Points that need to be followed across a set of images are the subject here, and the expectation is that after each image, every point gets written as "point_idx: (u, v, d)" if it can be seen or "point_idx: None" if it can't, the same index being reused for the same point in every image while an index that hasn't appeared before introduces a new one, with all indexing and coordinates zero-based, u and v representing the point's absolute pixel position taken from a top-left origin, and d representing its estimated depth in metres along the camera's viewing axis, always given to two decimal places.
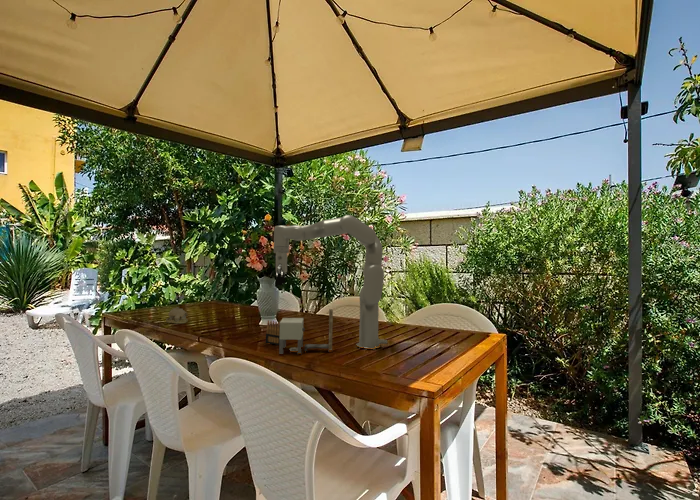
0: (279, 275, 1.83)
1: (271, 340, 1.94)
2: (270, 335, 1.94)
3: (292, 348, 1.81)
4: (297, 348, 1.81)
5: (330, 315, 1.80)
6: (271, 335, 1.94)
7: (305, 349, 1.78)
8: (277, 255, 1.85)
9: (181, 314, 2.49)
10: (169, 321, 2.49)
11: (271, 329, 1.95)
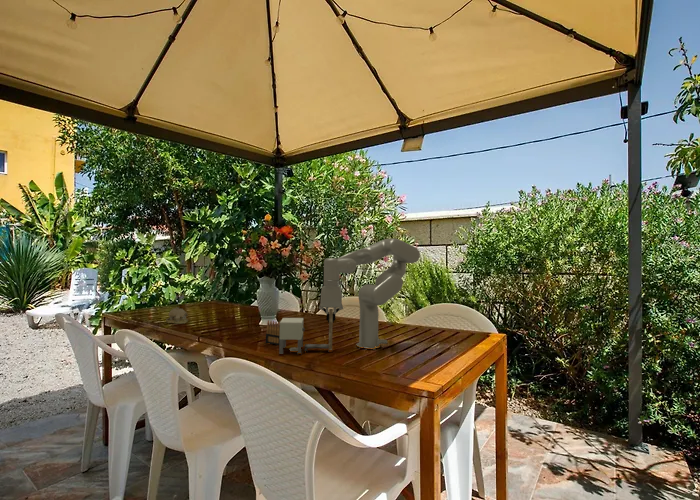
0: (336, 312, 1.82)
1: (271, 340, 1.94)
2: (270, 335, 1.94)
3: (292, 348, 1.81)
4: (297, 348, 1.81)
5: (330, 315, 1.80)
6: (271, 335, 1.94)
7: (305, 349, 1.78)
8: (340, 289, 1.81)
9: (181, 314, 2.49)
10: (169, 321, 2.48)
11: (271, 329, 1.95)
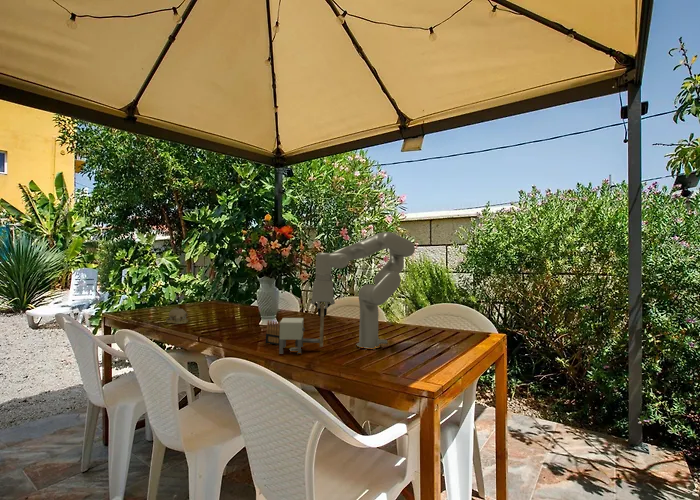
0: (328, 306, 1.82)
1: (271, 340, 1.94)
2: (270, 335, 1.94)
3: (292, 348, 1.81)
4: (297, 348, 1.81)
5: (321, 309, 1.80)
6: (271, 335, 1.94)
7: (296, 343, 1.78)
8: (332, 284, 1.81)
9: (182, 314, 2.49)
10: (169, 321, 2.47)
11: (271, 329, 1.95)
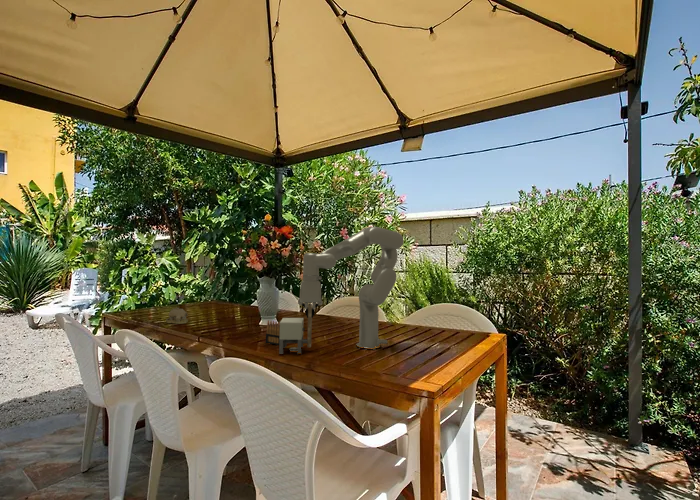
0: None
1: (271, 340, 1.94)
2: (270, 335, 1.94)
3: (292, 348, 1.81)
4: (297, 348, 1.81)
5: (309, 310, 1.79)
6: (271, 335, 1.94)
7: (284, 344, 1.78)
8: (319, 284, 1.80)
9: (182, 314, 2.49)
10: (170, 321, 2.47)
11: (271, 329, 1.95)
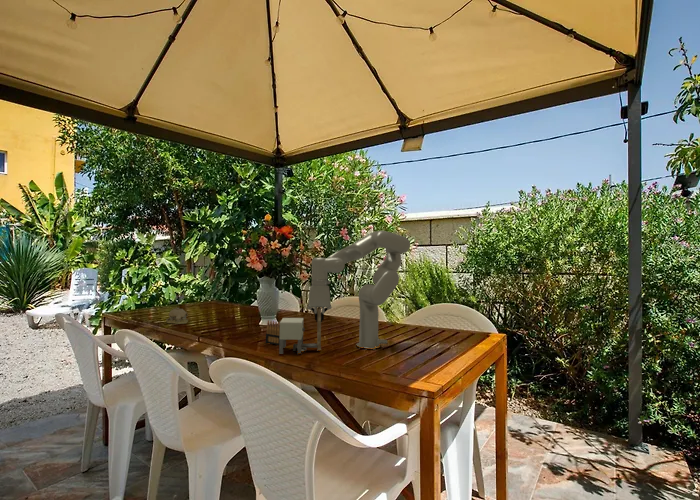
0: (325, 311, 1.82)
1: (271, 340, 1.94)
2: (270, 335, 1.94)
3: None
4: (304, 348, 1.81)
5: (318, 314, 1.80)
6: (271, 335, 1.94)
7: (293, 348, 1.78)
8: (328, 289, 1.81)
9: (182, 314, 2.48)
10: (170, 322, 2.47)
11: (271, 329, 1.95)
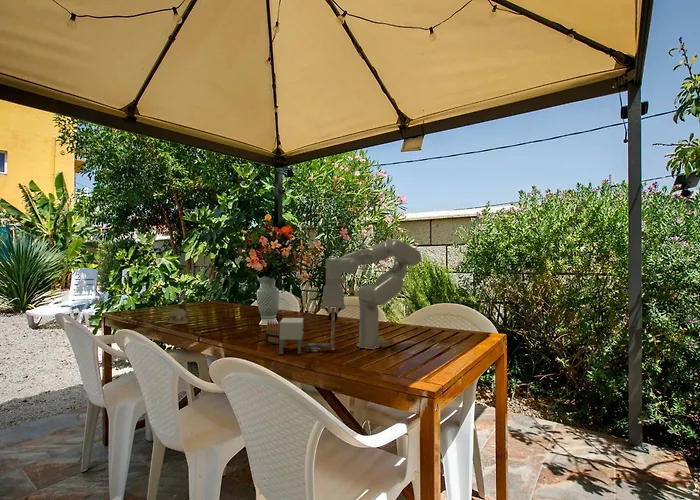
0: (338, 311, 1.82)
1: (271, 340, 1.94)
2: (270, 335, 1.94)
3: (312, 348, 1.82)
4: (317, 348, 1.82)
5: (332, 314, 1.80)
6: (271, 335, 1.94)
7: (307, 348, 1.78)
8: (342, 289, 1.81)
9: (182, 314, 2.48)
10: (170, 322, 2.47)
11: (271, 329, 1.95)
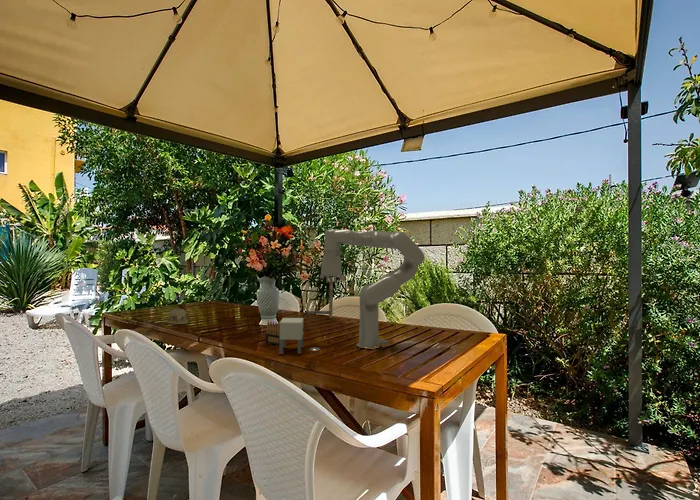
0: None
1: (271, 340, 1.94)
2: (270, 335, 1.94)
3: (312, 348, 1.82)
4: (317, 348, 1.82)
5: (330, 282, 1.89)
6: (271, 335, 1.94)
7: (307, 314, 1.88)
8: (340, 259, 1.90)
9: (183, 314, 2.48)
10: (170, 322, 2.46)
11: (271, 329, 1.95)
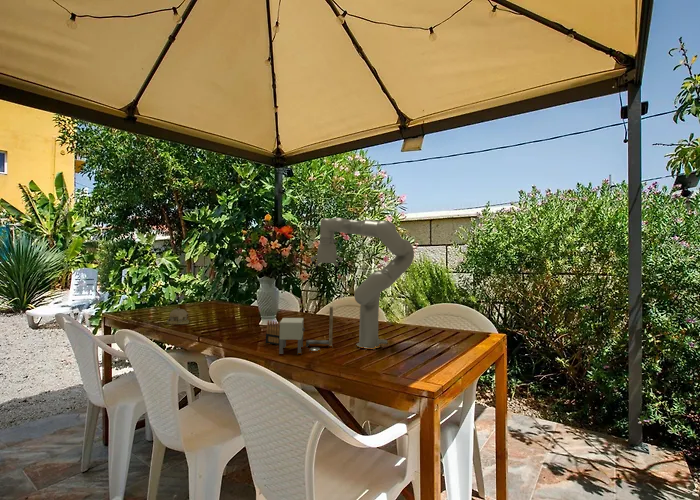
0: (338, 265, 2.02)
1: (271, 340, 1.94)
2: (270, 335, 1.94)
3: (312, 348, 1.82)
4: (317, 348, 1.82)
5: (330, 312, 1.89)
6: (271, 335, 1.94)
7: (306, 344, 1.87)
8: (335, 246, 2.00)
9: (184, 315, 2.47)
10: (171, 322, 2.45)
11: (271, 329, 1.95)
